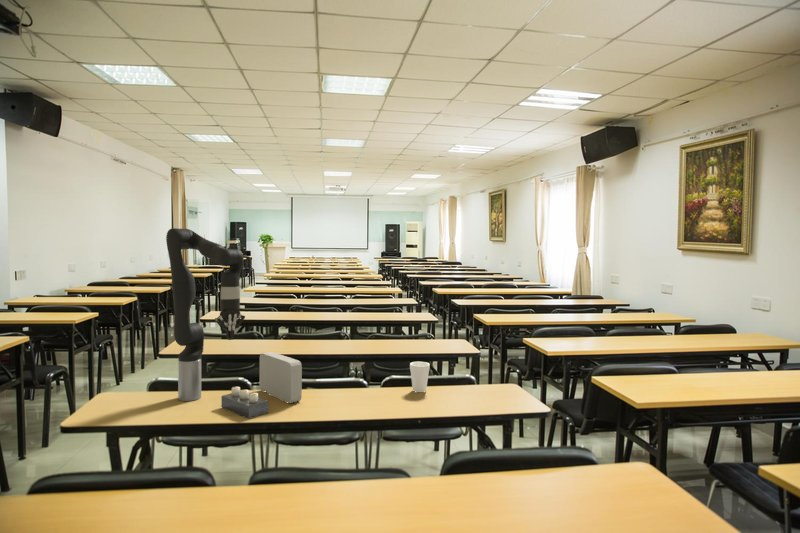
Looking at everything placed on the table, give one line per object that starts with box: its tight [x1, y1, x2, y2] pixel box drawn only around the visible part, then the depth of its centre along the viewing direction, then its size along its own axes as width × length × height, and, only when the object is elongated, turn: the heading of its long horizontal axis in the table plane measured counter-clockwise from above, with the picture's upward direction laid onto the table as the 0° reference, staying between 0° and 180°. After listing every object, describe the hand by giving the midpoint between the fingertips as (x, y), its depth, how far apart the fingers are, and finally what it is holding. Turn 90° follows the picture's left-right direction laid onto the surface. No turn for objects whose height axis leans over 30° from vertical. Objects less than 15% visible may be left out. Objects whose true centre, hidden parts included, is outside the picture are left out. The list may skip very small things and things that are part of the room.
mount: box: [220, 392, 269, 420], centre depth 190 cm, size 20×9×5 cm, turn 51°
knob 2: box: [240, 389, 250, 399], centre depth 190 cm, size 3×3×8 cm
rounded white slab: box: [259, 351, 303, 404], centre depth 210 cm, size 29×8×18 cm, turn 44°
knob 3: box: [249, 392, 259, 403], centre depth 186 cm, size 3×3×8 cm
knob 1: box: [231, 386, 241, 396], centre depth 194 cm, size 3×3×8 cm
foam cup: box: [409, 361, 431, 393], centre depth 220 cm, size 10×9×13 cm
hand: (230, 339), depth 191 cm, fingers closed
